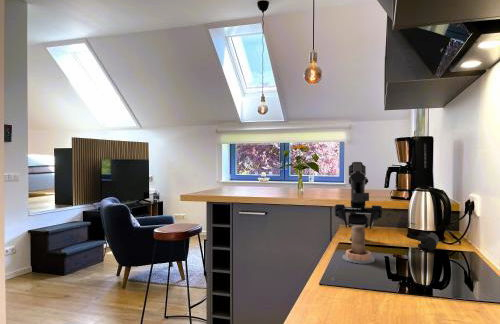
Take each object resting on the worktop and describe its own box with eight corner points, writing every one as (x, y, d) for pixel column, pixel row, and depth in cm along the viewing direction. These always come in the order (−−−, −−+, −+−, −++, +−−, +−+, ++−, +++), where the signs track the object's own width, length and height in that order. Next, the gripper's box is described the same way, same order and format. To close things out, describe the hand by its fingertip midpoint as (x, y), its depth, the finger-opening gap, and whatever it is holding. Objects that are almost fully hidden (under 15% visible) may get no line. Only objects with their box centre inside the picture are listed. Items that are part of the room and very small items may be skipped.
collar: (344, 253, 145) (344, 247, 145) (375, 256, 141) (375, 249, 141) (340, 261, 134) (340, 254, 134) (373, 265, 130) (373, 257, 130)
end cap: (436, 253, 145) (436, 237, 145) (417, 251, 149) (417, 235, 149) (438, 248, 153) (438, 232, 153) (421, 246, 157) (420, 231, 157)
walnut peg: (356, 254, 141) (356, 224, 141) (367, 257, 137) (367, 226, 137) (349, 256, 138) (348, 226, 138) (360, 259, 134) (360, 228, 134)
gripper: (334, 185, 149) (333, 215, 138) (381, 186, 143) (384, 217, 133) (335, 201, 156) (334, 231, 146) (380, 202, 151) (382, 233, 141)
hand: (358, 228), depth 141 cm, fingers open, 9 cm apart
